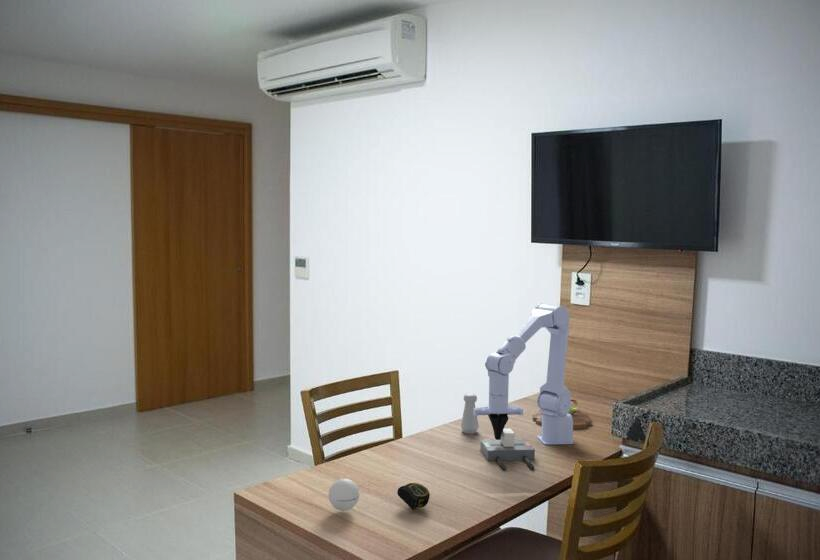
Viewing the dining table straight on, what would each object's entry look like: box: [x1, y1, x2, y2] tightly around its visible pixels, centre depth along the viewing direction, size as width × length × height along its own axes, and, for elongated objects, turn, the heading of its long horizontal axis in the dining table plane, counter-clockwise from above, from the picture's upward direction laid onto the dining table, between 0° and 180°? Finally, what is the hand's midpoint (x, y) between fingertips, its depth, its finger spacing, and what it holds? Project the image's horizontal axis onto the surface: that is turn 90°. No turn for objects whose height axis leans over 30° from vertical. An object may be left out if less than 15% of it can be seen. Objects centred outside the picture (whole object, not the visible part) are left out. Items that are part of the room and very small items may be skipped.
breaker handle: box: [500, 427, 516, 447], centre depth 202 cm, size 3×5×4 cm, turn 6°
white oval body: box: [328, 478, 371, 512], centre depth 160 cm, size 10×7×7 cm
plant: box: [532, 399, 592, 430], centre depth 238 cm, size 20×20×11 cm
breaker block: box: [480, 438, 536, 462], centre depth 202 cm, size 14×10×3 cm
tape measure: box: [397, 482, 431, 510], centre depth 164 cm, size 7×7×4 cm
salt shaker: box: [460, 393, 480, 435], centre depth 223 cm, size 6×6×13 cm
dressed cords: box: [495, 456, 535, 471], centre depth 193 cm, size 9×9×1 cm
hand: (497, 438), depth 201 cm, fingers closed
